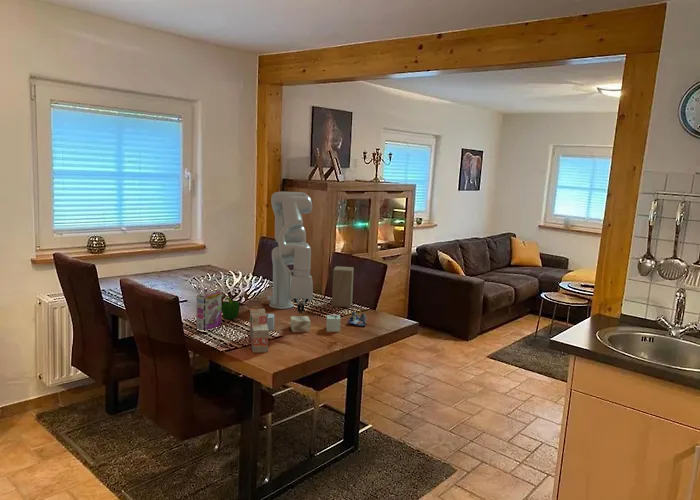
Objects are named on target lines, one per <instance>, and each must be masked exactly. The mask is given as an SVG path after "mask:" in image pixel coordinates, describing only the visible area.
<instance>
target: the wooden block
mask: <svg viewBox="0 0 700 500" xmlns="http://www.w3.org/2000/svg"><path fill="white" fill-rule="evenodd" d="M354 270H355V268H354V266H339V265H337V266H335V267H334V269H333V271H332V272H333V273H332V292H331V293H332V294H331V306H332V307H337V308H338V307H339V308H351V306H352V304H353V293H354V275H355V274H354V272H355V271H354Z"/></svg>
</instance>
